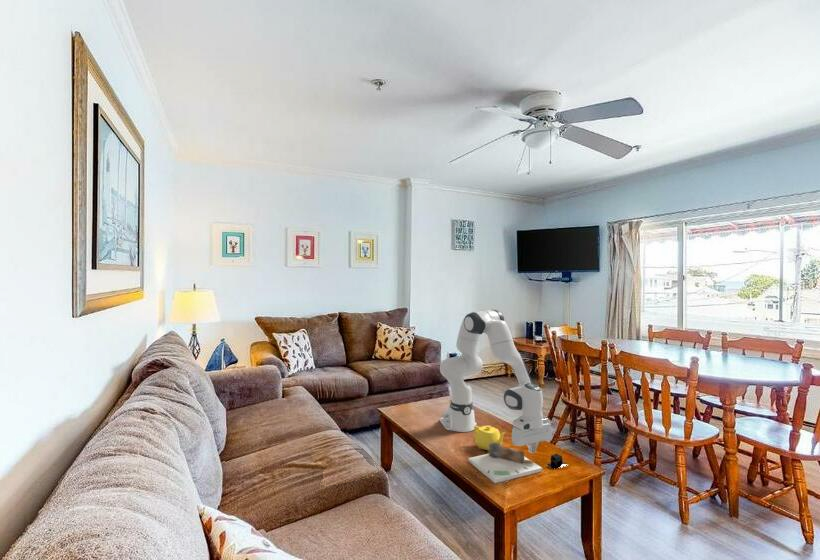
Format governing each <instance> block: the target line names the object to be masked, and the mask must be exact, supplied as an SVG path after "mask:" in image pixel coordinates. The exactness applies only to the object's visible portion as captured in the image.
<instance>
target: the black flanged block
mask: <svg viewBox="0 0 820 560" xmlns="http://www.w3.org/2000/svg"><path fill="white" fill-rule="evenodd" d="M550 462H551V463H550ZM550 462H548V464H547V463H546V464H547V465H548V466H549V467H548V466H547V467H548V468H550V467H551V468H550V469H552V468H553V469H552V470H554V468H555V469H556V468H558V467H559V468H558V469H560V467H561V468H563V466H564V467H567V466H569V464H568V463H566V462H565V461H563V455H561V454H558V453H554V454H551V455H550ZM566 465H567V466H566ZM556 470H557V469H556Z"/></svg>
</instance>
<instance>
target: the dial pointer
mask: <svg viewBox="0 0 820 560" xmlns="http://www.w3.org/2000/svg"><path fill="white" fill-rule="evenodd" d="M488 454H489V455H490V456H492V457H500V458H504V459H508V460H512V461H516V462H520V463H527V464H531V465H533V462H534V461H532V460H531V461H528V460H524V456H525V451H522V450H518V449H515V448H511V447H505V446H503V445H502V444H501V445H500V444H499V443H490V444H489V452H488Z"/></svg>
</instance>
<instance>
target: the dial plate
mask: <svg viewBox="0 0 820 560" xmlns="http://www.w3.org/2000/svg"><path fill="white" fill-rule="evenodd" d="M524 460H528V461H532V460H531V459H529V458H528V457H526V456H525V455H524ZM468 462H469V463H470V464H471V465H472V466H474V467H475V469H477V470H479V471H480V472H481V473H482V474H483V475H484V476H486V477H487V478H488V479H489V480H490V481H492V482H493V483H494V484H498V483H502V482H505V481H506V482H507V481H510V480H513V479H517V478H521V477H526V476H529V475H533V474H537V473H541V472H543V467H541V466H540V465H539V464H537V463H536V462H534V461H532V462H533V465H531V464H527V463H520V462H516V461H512V460H508V459H504V458H500V457H492V456H490V455H489V453H486V454H481V455H477V456H472V457H468Z"/></svg>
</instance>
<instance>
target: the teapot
mask: <svg viewBox="0 0 820 560" xmlns="http://www.w3.org/2000/svg"><path fill="white" fill-rule="evenodd" d="M473 431H474V433H475V434H476V435H475V437H474V438H475V439H474V442H475V445H476V447H478V449H479V450H485V451H487V453H489V444H490V443H499V444H500V445H501V446H502V444H503V441H504V436H505V434H507V432H501V433H500V431H499V429H498V428H496V427H494V426H491V425H482V426H478V425H476V426H474V430H473Z"/></svg>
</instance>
